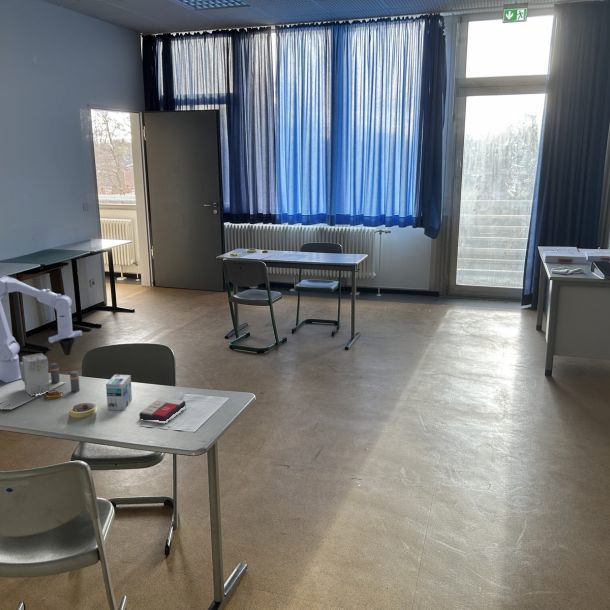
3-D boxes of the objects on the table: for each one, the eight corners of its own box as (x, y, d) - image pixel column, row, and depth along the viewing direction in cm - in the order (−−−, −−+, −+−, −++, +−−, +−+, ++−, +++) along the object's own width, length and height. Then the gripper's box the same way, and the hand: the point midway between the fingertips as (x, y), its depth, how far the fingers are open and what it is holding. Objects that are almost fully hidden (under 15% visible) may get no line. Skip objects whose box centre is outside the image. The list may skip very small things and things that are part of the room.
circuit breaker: (39, 382, 256) (36, 349, 253) (50, 393, 246) (47, 358, 242) (21, 386, 251) (17, 352, 248) (31, 397, 241) (27, 361, 237)
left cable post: (49, 382, 257) (48, 364, 255) (57, 380, 260) (55, 362, 258) (54, 384, 255) (52, 366, 253) (61, 382, 258) (60, 364, 256)
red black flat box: (138, 411, 222) (160, 395, 235) (139, 422, 223) (161, 405, 237) (164, 416, 218) (185, 399, 232) (165, 427, 220) (186, 409, 233)
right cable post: (69, 390, 248) (67, 372, 246) (76, 388, 251) (75, 370, 249) (74, 393, 246) (72, 374, 244) (81, 390, 249) (80, 372, 247)
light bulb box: (124, 411, 230) (123, 384, 228) (106, 410, 230) (105, 383, 228) (132, 400, 241) (131, 374, 238) (115, 399, 241) (114, 374, 238)
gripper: (54, 329, 249) (56, 360, 252) (85, 322, 260) (87, 352, 264) (44, 326, 253) (47, 357, 257) (76, 319, 265) (78, 349, 268)
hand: (67, 354), depth 260 cm, fingers closed
